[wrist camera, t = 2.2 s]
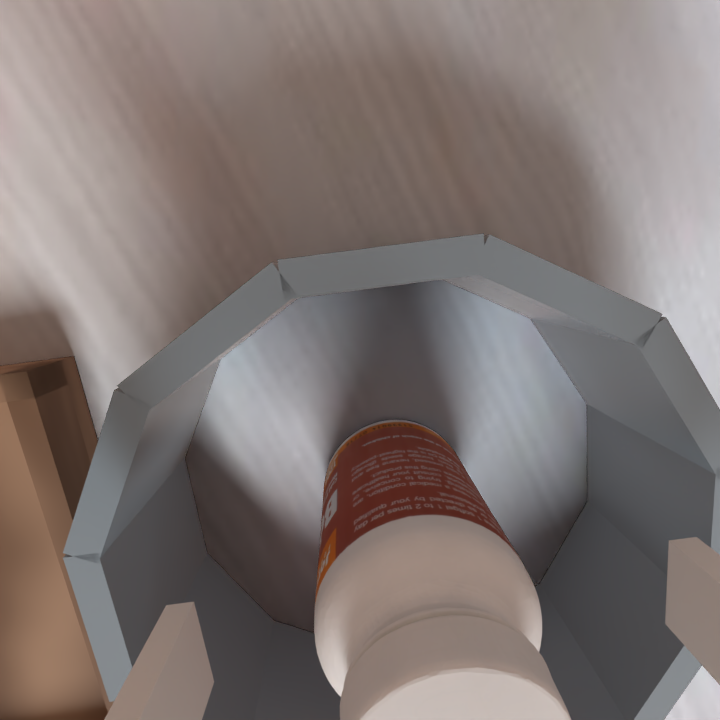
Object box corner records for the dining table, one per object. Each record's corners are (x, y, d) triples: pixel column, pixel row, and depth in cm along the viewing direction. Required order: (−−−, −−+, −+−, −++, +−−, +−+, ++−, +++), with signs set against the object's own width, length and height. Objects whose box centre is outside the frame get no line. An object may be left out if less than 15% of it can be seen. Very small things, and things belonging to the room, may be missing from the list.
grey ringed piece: (218, 686, 21) (163, 868, 14) (118, 287, 16) (-22, 297, 10) (607, 631, 21) (722, 786, 15) (609, 224, 17) (772, 196, 10)
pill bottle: (308, 435, 18) (256, 677, 7) (443, 399, 18) (593, 591, 7) (345, 553, 20) (347, 906, 9) (471, 521, 19) (633, 836, 9)
